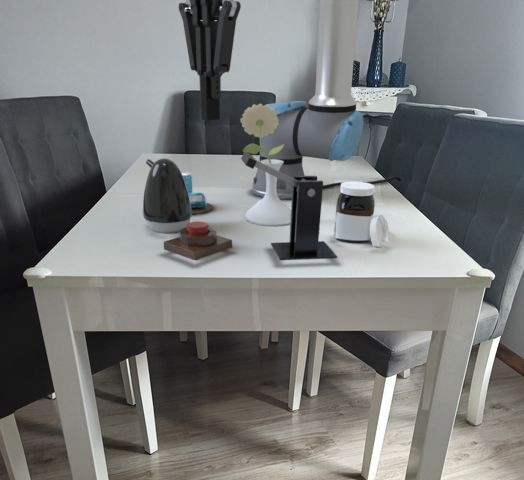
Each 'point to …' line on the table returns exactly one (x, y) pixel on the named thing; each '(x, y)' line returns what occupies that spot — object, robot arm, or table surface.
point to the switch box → (197, 244)
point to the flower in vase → (270, 205)
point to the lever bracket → (305, 223)
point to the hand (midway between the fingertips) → (210, 119)
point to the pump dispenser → (166, 198)
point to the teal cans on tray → (196, 197)
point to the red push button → (197, 228)
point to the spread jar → (359, 215)
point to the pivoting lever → (268, 169)
